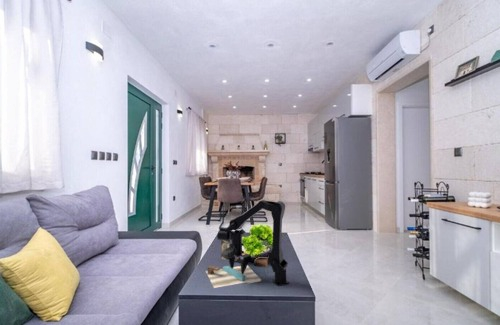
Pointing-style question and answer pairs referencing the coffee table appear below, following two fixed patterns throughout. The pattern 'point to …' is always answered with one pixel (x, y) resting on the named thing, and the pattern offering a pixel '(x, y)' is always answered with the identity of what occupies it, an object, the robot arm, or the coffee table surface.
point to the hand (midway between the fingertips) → (237, 271)
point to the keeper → (212, 269)
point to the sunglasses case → (261, 262)
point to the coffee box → (224, 246)
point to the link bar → (235, 273)
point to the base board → (231, 277)
